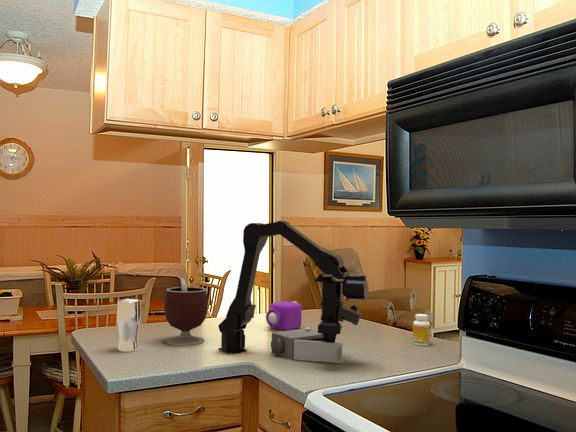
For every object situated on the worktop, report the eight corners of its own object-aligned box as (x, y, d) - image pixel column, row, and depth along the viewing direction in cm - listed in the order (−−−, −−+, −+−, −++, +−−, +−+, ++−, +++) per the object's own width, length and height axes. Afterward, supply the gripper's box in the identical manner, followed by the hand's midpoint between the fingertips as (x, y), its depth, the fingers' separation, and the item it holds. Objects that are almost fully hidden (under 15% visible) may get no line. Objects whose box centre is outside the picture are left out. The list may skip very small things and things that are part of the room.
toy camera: (260, 330, 204) (261, 303, 204) (278, 324, 216) (279, 298, 216) (287, 333, 199) (287, 305, 199) (303, 327, 211) (304, 301, 211)
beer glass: (130, 353, 166) (131, 302, 166) (111, 351, 168) (112, 301, 168) (144, 348, 172) (145, 299, 172) (125, 346, 174) (126, 298, 175)
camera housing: (286, 360, 161) (286, 336, 161) (266, 353, 169) (266, 330, 169) (327, 353, 171) (328, 330, 171) (307, 346, 179) (307, 325, 179)
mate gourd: (210, 345, 179) (212, 282, 179) (166, 347, 174) (168, 283, 174) (201, 335, 193) (202, 277, 194) (160, 337, 189) (161, 278, 189)
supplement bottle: (424, 346, 183) (424, 316, 183) (409, 343, 186) (410, 314, 186) (432, 344, 187) (432, 315, 187) (418, 341, 190) (418, 313, 190)
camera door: (293, 359, 161) (293, 340, 161) (294, 358, 162) (294, 339, 162) (341, 363, 157) (341, 344, 157) (342, 362, 158) (342, 343, 158)
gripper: (358, 304, 150) (358, 362, 151) (360, 293, 169) (360, 344, 169) (317, 303, 152) (317, 360, 152) (323, 292, 171) (323, 343, 171)
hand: (331, 351), depth 161 cm, fingers closed
